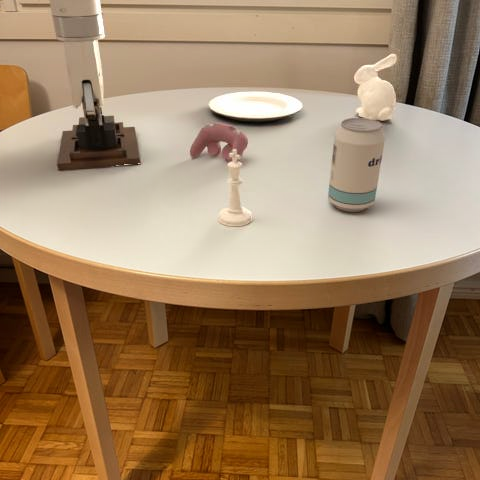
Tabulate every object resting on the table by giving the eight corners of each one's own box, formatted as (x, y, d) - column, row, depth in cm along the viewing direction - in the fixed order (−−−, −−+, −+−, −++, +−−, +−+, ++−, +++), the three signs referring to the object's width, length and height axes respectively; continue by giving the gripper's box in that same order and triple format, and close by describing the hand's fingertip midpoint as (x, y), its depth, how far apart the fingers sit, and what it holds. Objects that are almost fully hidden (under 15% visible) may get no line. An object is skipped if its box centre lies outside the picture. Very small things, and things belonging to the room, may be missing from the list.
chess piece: (233, 208, 79) (233, 141, 73) (259, 218, 76) (260, 149, 70) (210, 219, 76) (208, 150, 70) (236, 230, 73) (236, 159, 67)
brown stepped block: (58, 170, 90) (53, 146, 88) (63, 137, 104) (59, 115, 102) (140, 164, 93) (138, 140, 90) (135, 132, 107) (132, 111, 104)
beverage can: (364, 219, 76) (378, 135, 69) (320, 208, 79) (328, 126, 71) (379, 201, 81) (393, 121, 74) (336, 192, 84) (346, 113, 76)
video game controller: (244, 171, 94) (254, 131, 93) (231, 167, 90) (241, 125, 89) (200, 160, 99) (209, 121, 97) (186, 155, 95) (195, 115, 93)
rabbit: (345, 110, 120) (352, 52, 113) (382, 106, 122) (391, 49, 115) (372, 126, 111) (382, 63, 103) (411, 122, 113) (423, 60, 106)
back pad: (79, 149, 92) (76, 132, 90) (80, 141, 95) (77, 124, 93) (117, 147, 93) (115, 129, 91) (116, 139, 96) (114, 122, 95)
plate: (304, 101, 125) (304, 93, 124) (298, 129, 109) (299, 119, 108) (217, 97, 128) (217, 89, 127) (199, 124, 111) (199, 114, 110)
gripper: (57, 20, 89) (78, 130, 100) (50, 37, 76) (74, 162, 87) (103, 18, 90) (118, 127, 101) (104, 35, 77) (121, 158, 88)
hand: (98, 142), depth 94 cm, fingers closed on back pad, 4 cm apart
